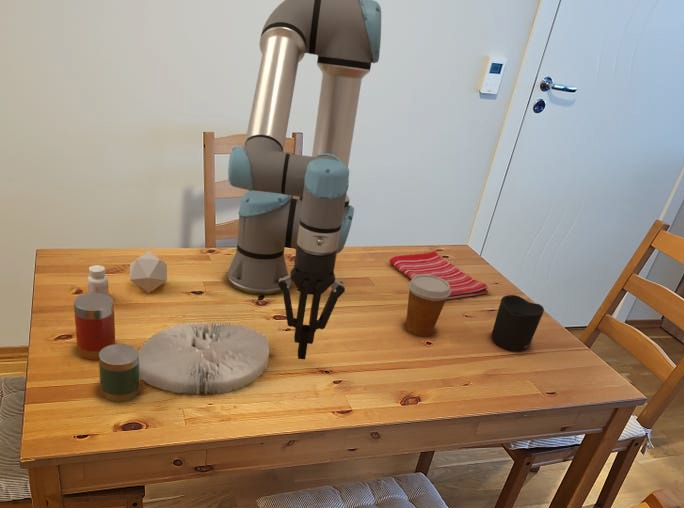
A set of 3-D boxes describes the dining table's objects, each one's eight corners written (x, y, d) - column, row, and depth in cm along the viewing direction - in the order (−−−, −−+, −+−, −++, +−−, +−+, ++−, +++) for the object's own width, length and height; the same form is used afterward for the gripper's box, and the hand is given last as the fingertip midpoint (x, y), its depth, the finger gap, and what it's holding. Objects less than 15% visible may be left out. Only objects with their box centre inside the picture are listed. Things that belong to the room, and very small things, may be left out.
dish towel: (434, 258, 187) (436, 249, 186) (488, 294, 170) (491, 285, 169) (386, 264, 180) (388, 255, 178) (438, 302, 163) (441, 293, 161)
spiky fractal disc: (117, 348, 128) (116, 337, 127) (237, 322, 143) (238, 311, 141) (163, 410, 113) (163, 398, 112) (293, 374, 128) (295, 362, 126)
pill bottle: (112, 297, 146) (111, 266, 142) (101, 305, 142) (100, 274, 138) (95, 293, 147) (94, 262, 143) (84, 301, 143) (82, 269, 139)
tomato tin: (82, 339, 130) (78, 290, 124) (118, 341, 131) (116, 294, 125) (73, 358, 124) (69, 308, 118) (111, 361, 125) (109, 312, 119)
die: (174, 294, 152) (174, 252, 153) (152, 288, 144) (151, 244, 145) (145, 297, 156) (145, 256, 156) (121, 291, 147) (121, 249, 148)
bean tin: (105, 378, 120) (103, 342, 115) (142, 381, 120) (141, 345, 116) (97, 400, 114) (94, 363, 110) (136, 403, 114) (135, 366, 110)
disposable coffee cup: (439, 343, 145) (452, 296, 139) (397, 334, 146) (408, 287, 140) (439, 323, 153) (451, 278, 146) (399, 315, 154) (410, 270, 148)
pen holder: (499, 353, 144) (512, 314, 139) (482, 331, 152) (494, 294, 146) (537, 353, 146) (551, 315, 140) (518, 332, 154) (531, 295, 148)
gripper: (281, 252, 113) (269, 363, 126) (354, 259, 114) (334, 368, 127) (281, 236, 120) (269, 343, 132) (349, 243, 121) (331, 348, 133)
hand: (301, 355), depth 130 cm, fingers closed
